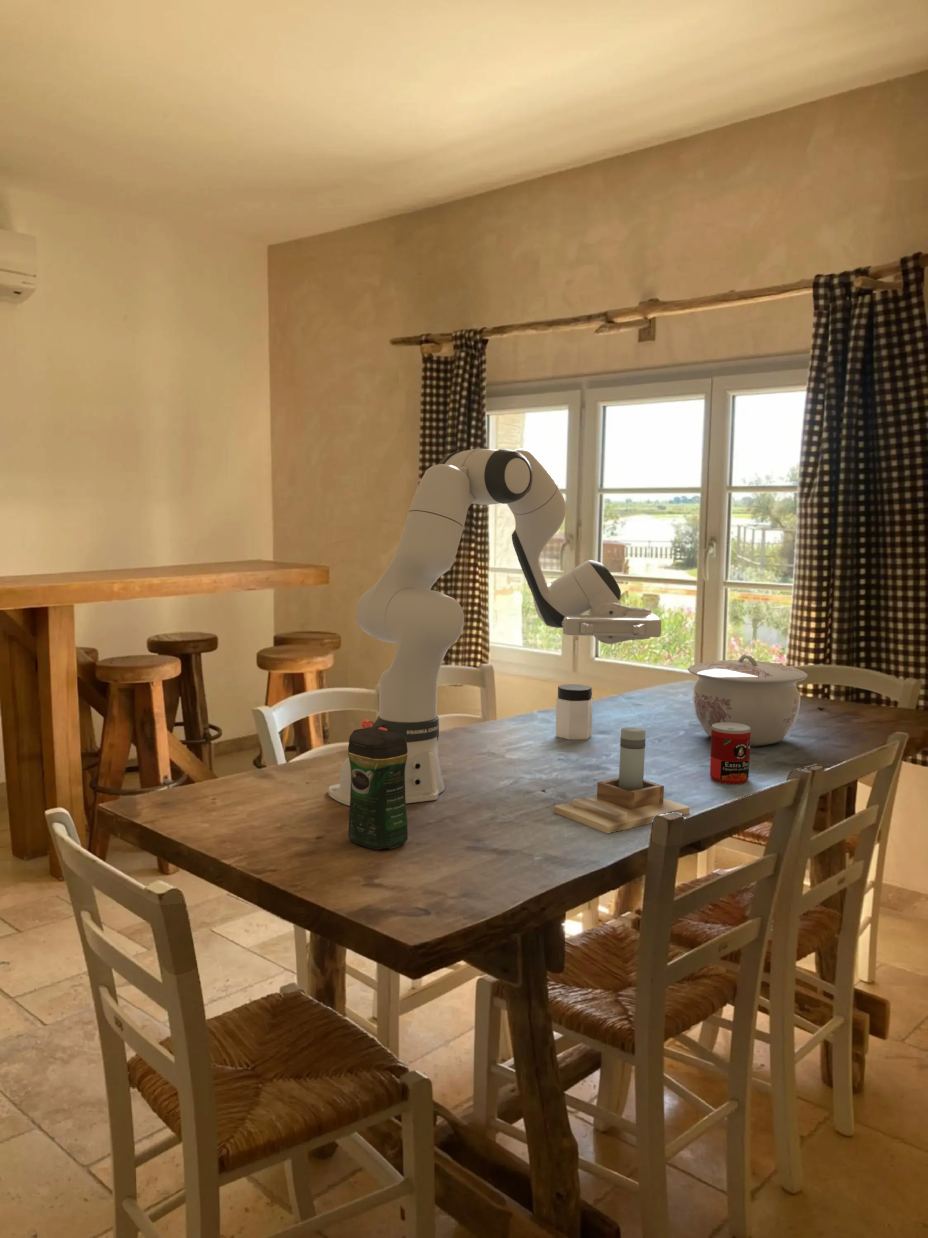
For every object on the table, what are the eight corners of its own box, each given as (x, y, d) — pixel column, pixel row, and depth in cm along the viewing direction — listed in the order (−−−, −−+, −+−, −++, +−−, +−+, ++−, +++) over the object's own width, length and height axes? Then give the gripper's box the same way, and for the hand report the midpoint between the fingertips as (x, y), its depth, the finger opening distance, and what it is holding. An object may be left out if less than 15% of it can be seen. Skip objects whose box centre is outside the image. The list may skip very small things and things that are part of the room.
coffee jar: (416, 843, 157) (416, 730, 155) (378, 855, 151) (378, 738, 149) (377, 829, 164) (377, 721, 161) (340, 840, 158) (339, 728, 156)
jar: (599, 737, 232) (600, 688, 231) (575, 742, 227) (576, 691, 226) (572, 730, 239) (573, 682, 238) (548, 735, 234) (549, 686, 233)
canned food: (722, 786, 192) (724, 731, 190) (702, 775, 199) (704, 723, 198) (756, 783, 194) (758, 729, 192) (735, 773, 201) (737, 721, 200)
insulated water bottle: (629, 804, 174) (633, 733, 173) (612, 798, 178) (615, 729, 177) (647, 801, 177) (651, 731, 176) (630, 795, 181) (633, 726, 179)
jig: (608, 834, 162) (608, 809, 162) (553, 812, 174) (554, 789, 173) (689, 813, 174) (690, 790, 173) (633, 794, 185) (634, 773, 185)
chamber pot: (781, 760, 212) (785, 667, 210) (665, 741, 228) (668, 655, 226) (821, 737, 234) (825, 653, 232) (713, 722, 251) (716, 642, 248)
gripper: (561, 607, 209) (561, 613, 196) (657, 609, 207) (664, 615, 194) (561, 636, 210) (561, 644, 196) (656, 638, 208) (663, 647, 194)
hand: (613, 630), depth 195 cm, fingers open, 8 cm apart
